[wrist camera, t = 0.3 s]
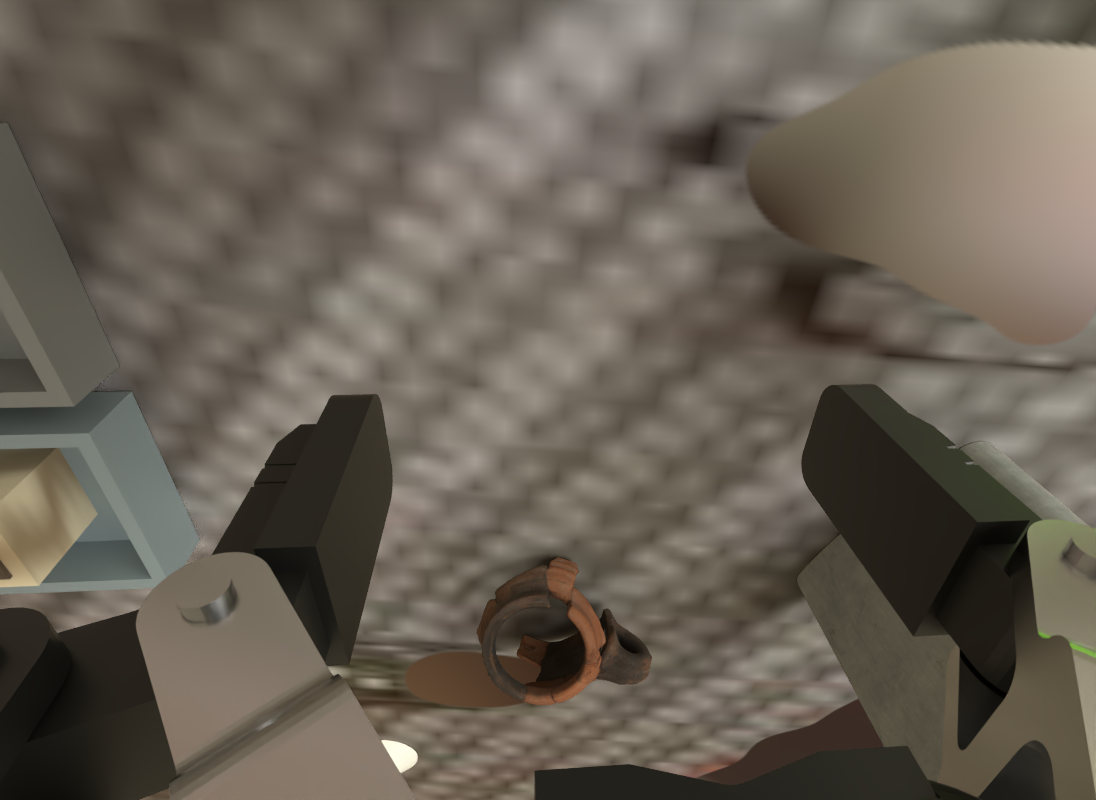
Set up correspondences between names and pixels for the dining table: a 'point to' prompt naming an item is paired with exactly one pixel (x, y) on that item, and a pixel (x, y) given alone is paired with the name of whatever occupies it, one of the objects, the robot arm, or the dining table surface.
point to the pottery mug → (565, 662)
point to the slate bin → (109, 494)
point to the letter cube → (38, 513)
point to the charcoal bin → (41, 301)
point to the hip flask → (901, 629)
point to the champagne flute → (401, 754)
